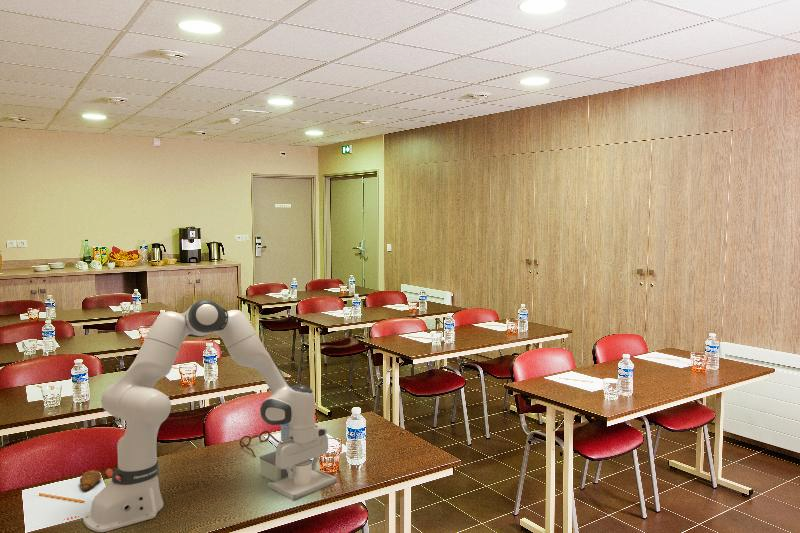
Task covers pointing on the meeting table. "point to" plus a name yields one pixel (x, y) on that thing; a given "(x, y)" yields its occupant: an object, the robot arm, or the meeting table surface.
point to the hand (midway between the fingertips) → (302, 473)
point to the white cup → (302, 472)
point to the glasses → (254, 437)
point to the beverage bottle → (284, 431)
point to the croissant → (89, 479)
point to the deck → (286, 484)
